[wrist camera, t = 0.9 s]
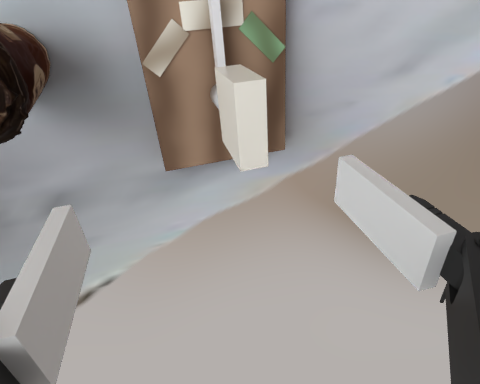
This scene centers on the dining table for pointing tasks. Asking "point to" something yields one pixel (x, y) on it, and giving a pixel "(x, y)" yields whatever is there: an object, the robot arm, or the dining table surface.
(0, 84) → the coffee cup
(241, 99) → the white piece
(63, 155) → the dining table surface
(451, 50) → the dining table surface
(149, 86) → the board
